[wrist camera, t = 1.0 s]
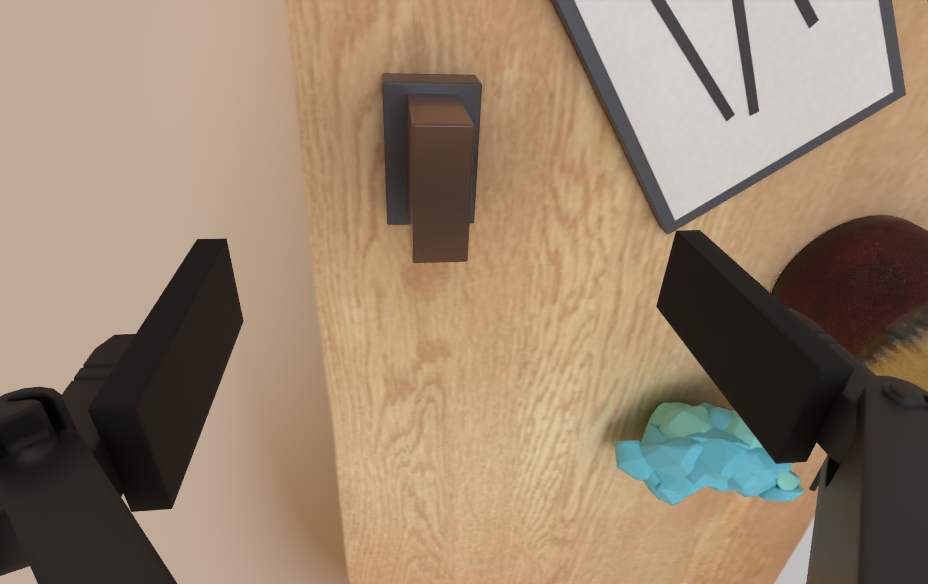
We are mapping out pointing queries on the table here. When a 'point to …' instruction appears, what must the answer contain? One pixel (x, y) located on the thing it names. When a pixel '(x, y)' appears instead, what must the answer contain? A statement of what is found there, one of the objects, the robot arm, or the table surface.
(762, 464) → the light blue toy tree
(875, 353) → the vase
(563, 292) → the table surface
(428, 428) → the table surface
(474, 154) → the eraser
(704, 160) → the whiteboard
